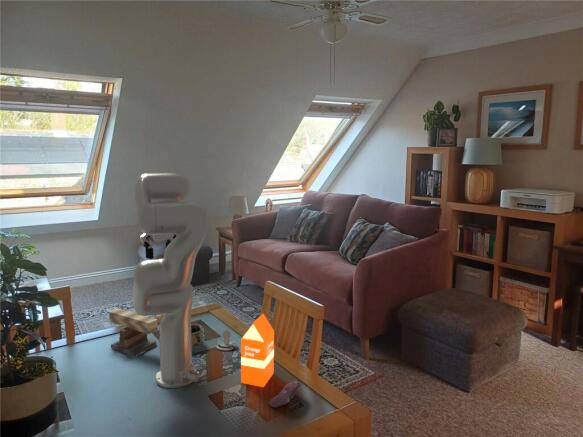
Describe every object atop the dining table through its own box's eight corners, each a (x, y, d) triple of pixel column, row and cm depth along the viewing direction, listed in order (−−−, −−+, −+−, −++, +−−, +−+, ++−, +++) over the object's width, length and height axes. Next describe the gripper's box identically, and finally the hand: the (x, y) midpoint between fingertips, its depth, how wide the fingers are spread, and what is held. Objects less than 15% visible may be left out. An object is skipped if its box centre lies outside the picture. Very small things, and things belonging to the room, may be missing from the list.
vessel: (210, 344, 161) (210, 328, 160) (193, 353, 154) (193, 336, 153) (187, 336, 167) (187, 320, 166) (170, 344, 160) (169, 328, 159)
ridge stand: (156, 345, 159) (155, 324, 158) (134, 356, 150) (133, 334, 149) (133, 337, 165) (132, 317, 163) (110, 348, 156) (109, 327, 155)
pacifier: (230, 353, 155) (238, 345, 161) (230, 336, 154) (237, 329, 159) (212, 349, 157) (220, 342, 163) (212, 333, 156) (219, 326, 162)
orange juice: (240, 382, 135) (240, 321, 132) (251, 369, 144) (252, 311, 140) (264, 387, 133) (264, 325, 130) (274, 373, 141) (275, 314, 138)
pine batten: (157, 330, 153) (157, 319, 153) (149, 334, 150) (148, 323, 149) (118, 318, 163) (117, 308, 162) (109, 322, 159) (108, 311, 159)
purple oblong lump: (278, 415, 122) (289, 398, 119) (266, 404, 124) (276, 387, 121) (296, 398, 130) (306, 382, 128) (284, 388, 132) (294, 372, 129)
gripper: (147, 213, 147) (149, 262, 150) (183, 207, 162) (184, 252, 165) (131, 211, 151) (133, 259, 153) (168, 205, 165) (169, 249, 168)
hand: (159, 255), depth 159 cm, fingers open, 9 cm apart
